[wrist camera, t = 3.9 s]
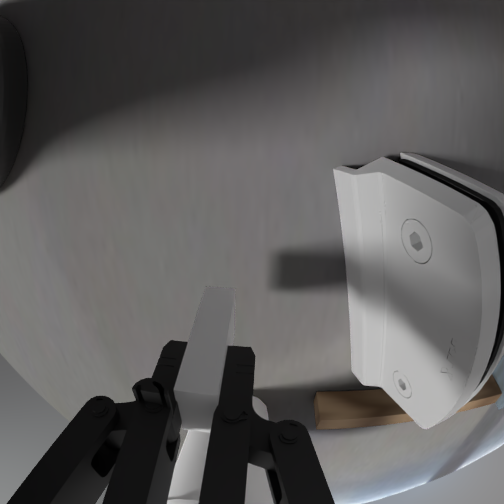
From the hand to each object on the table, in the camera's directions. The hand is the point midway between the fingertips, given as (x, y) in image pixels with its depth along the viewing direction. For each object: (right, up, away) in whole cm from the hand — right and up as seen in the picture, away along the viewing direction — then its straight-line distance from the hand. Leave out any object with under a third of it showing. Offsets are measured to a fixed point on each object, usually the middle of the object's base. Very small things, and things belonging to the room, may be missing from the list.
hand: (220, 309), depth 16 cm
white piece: (+11, +1, +3) cm, 12 cm away
